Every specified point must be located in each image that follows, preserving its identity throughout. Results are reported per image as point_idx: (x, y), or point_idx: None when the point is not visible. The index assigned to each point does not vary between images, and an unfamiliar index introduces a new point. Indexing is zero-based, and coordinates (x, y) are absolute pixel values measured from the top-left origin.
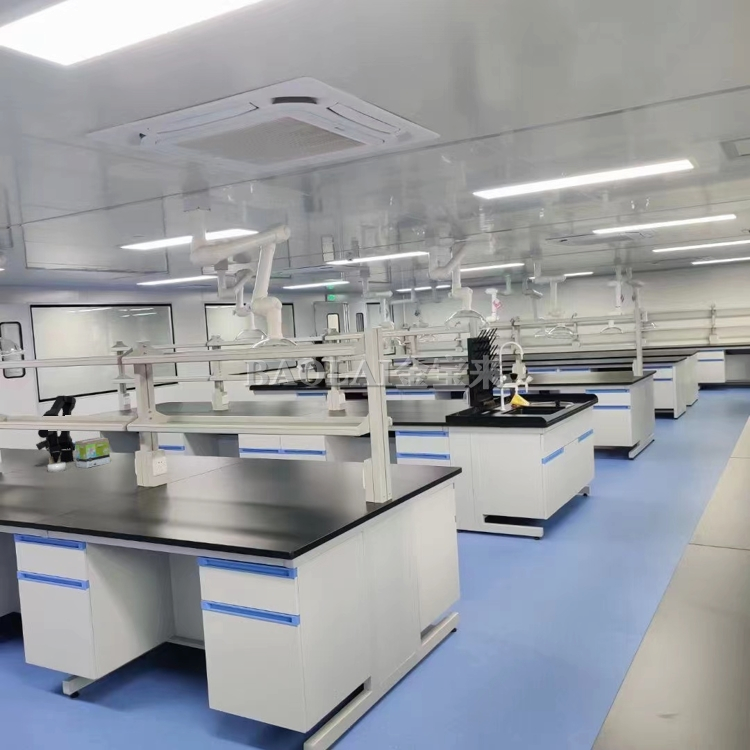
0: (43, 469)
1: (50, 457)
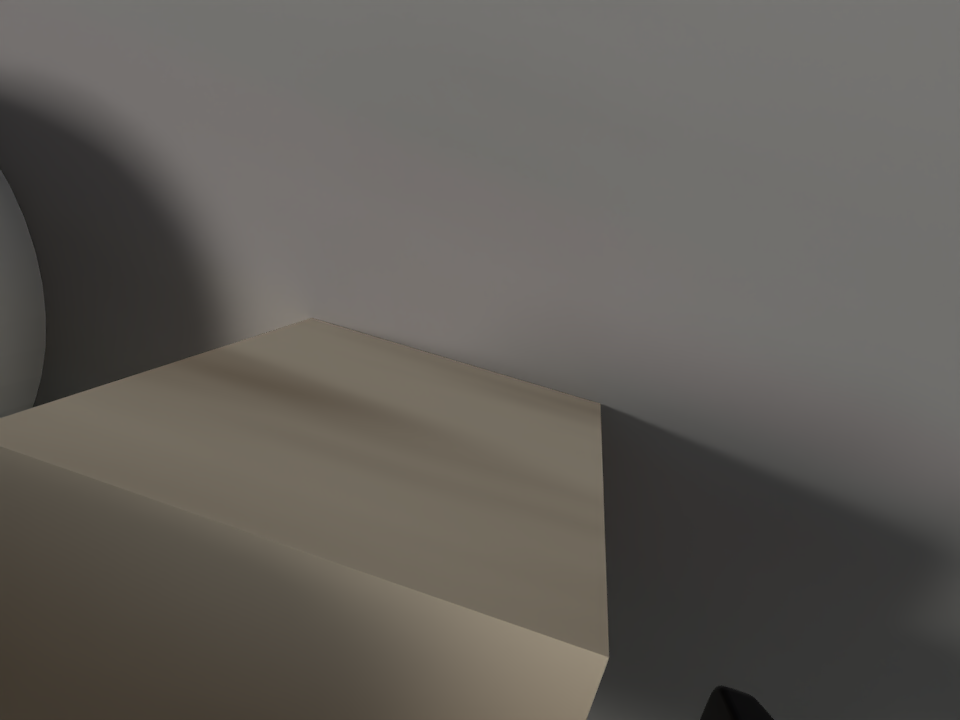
0: (419, 112)
1: (255, 616)
